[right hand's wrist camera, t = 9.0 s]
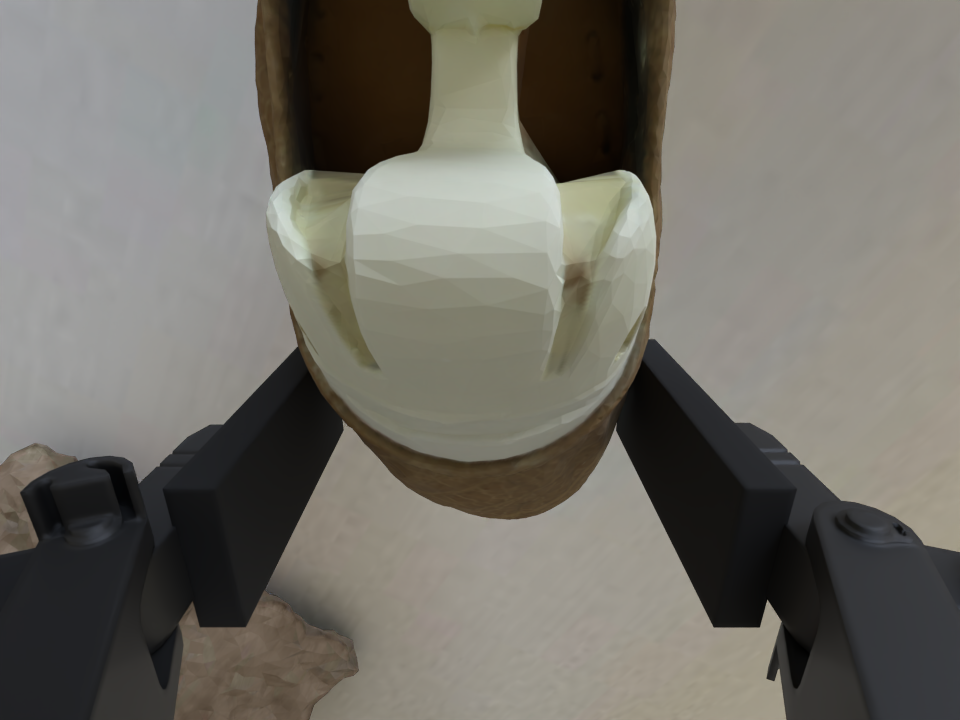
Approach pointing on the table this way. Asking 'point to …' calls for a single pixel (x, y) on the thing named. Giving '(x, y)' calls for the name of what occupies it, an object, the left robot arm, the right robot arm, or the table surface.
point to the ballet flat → (469, 227)
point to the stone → (214, 633)
